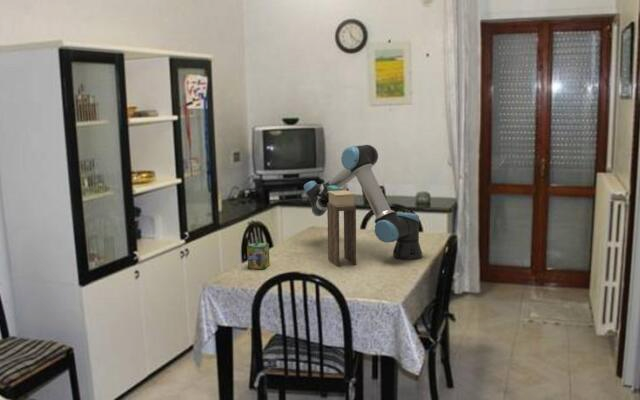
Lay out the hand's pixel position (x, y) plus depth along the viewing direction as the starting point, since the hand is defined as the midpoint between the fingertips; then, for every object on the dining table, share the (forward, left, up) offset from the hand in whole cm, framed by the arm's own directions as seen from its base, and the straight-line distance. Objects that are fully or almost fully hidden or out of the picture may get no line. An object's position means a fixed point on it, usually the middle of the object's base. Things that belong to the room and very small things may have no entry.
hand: (334, 186), depth 325 cm
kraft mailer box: (-7, +7, -8) cm, 13 cm away
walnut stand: (-7, +7, -38) cm, 39 cm away
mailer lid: (-3, +3, -3) cm, 5 cm away
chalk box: (+27, +32, -38) cm, 57 cm away
